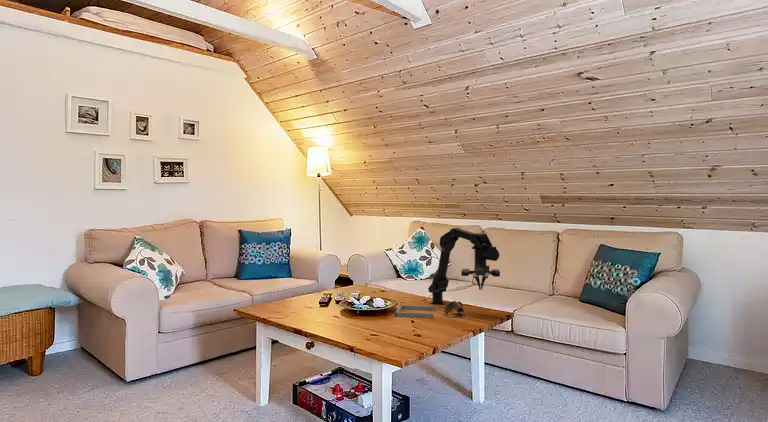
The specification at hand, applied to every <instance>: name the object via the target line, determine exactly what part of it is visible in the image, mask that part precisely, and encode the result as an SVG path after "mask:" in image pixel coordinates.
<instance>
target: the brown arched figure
mask: <svg viewBox="0 0 768 422" xmlns="http://www.w3.org/2000/svg"><path fill="white" fill-rule="evenodd" d="M463 306H464V305H463V303H462V302H461V301H457V300H452V301H451V302H449V303H447V304H446V305H445V306H444V307H443V309H444V314H446V315H449V313H453V310H456V311H457V313H460V314H461V318H463V317H465V316H466V314H465V310H464V308H463Z"/></svg>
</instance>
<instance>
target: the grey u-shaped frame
mask: <svg viewBox="0 0 768 422" xmlns="http://www.w3.org/2000/svg"><path fill="white" fill-rule="evenodd" d="M403 310H405V311H406V310H408V311H411V310H412V311H433V312H435V311H437V306H436V305H433V306H432V305H411V304H410V305H408V304H405V305H404V304H403V305H402V304H400V305H399V306H398V308H396V310H395V312H394V317H395V318H396V317H397V318H399V317H400V318H426V319H427V318H428V319H434V316H435V315H434V313H433V312H428V313H427V312H404V311H403ZM402 311H403V312H402Z"/></svg>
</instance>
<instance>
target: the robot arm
mask: <svg viewBox="0 0 768 422" xmlns="http://www.w3.org/2000/svg"><path fill="white" fill-rule="evenodd" d="M461 238H462V239H464V240H467V241H469V242H470V243H471V244H472V245H473V246H472V247H471V249H472V250H474V270H471V269H470V268H462V269H461V275H460V276H462V277H469V276H470V275H472V278H473V279H475V281H476V283H477V286H478V290H480V291H482V290H483V288H484V284H485V281H486V280H487V279H489V275H491V276H492V277H495V278H496V277H498V278H499V277H501V275H500V274H501V271H500V270H499V268H498V269H495V268H492V269H491V270H490V265H487V261H492V262H496V261H498V260H499V258H500V251H499V250H498V249H497V246H493V244H492V242H491V240H490V238H489V237H488V234H487V233H485V232H483V233H482V232H480V233H479V232H472V231H470V230H465V229H462V228H460V227H454V228H451V229H450V230H448V231H447V232H446V233H444V234H443V235H441V236H440V238H439V247H440V250H441V251H440V255H439V261H438V266H437V272H436V274H435V276H434V277H433V279H432V281H431V284H430V285H429V287H428V288H427V290H428V293H431V294H432V296H431V298H432V299H431V302H430V304H432V305H443V304H444V300H443V296H444V295H443V293H444V292H445V293H446V291H447V288H448V287H449V279H448V277H447V272H448V267H449V266H448V265H449V263H450V262H449V261H450V255H451V253H452V251H453V249H454V248H455V247H456V246H455V245H456V243H457V241H458V240H459V239H461ZM480 276H481V281H480Z"/></svg>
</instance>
